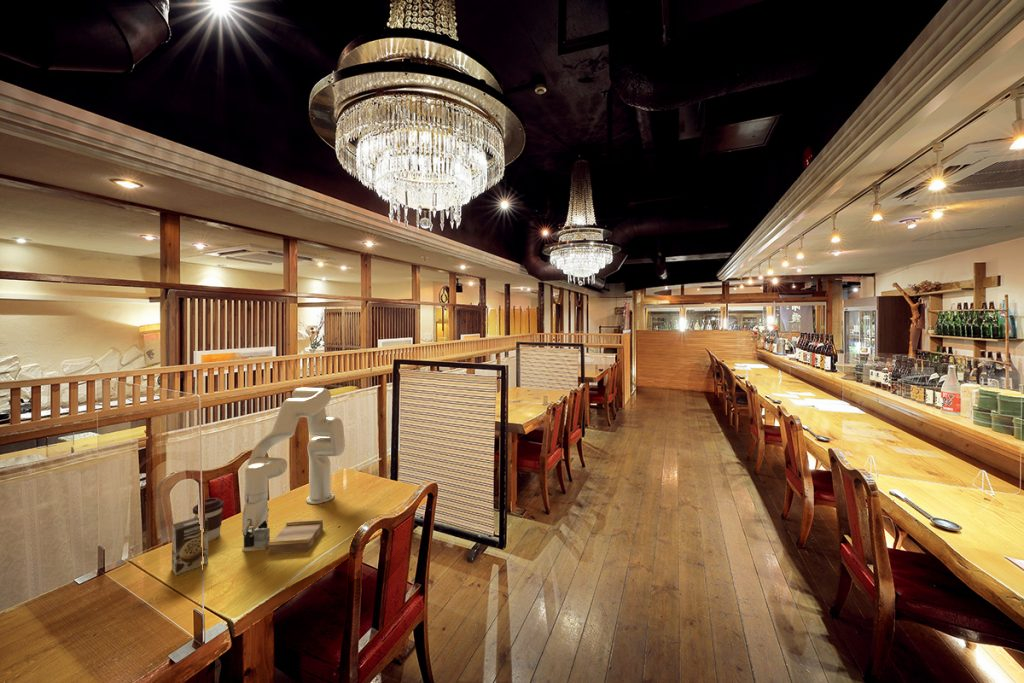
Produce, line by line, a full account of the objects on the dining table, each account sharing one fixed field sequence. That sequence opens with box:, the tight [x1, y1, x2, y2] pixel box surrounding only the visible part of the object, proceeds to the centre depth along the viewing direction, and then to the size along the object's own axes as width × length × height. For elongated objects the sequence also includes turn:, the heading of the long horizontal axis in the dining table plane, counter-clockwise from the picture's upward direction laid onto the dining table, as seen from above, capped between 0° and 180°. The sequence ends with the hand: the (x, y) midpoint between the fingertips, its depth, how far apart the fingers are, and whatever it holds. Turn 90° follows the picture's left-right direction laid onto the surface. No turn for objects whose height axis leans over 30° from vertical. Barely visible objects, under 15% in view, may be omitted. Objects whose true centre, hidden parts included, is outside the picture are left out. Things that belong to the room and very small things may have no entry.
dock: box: [268, 518, 324, 555], centre depth 149 cm, size 16×14×5 cm
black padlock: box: [241, 527, 271, 552], centre depth 145 cm, size 5×8×6 cm, turn 98°
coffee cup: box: [192, 497, 225, 542], centre depth 152 cm, size 10×10×15 cm
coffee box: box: [171, 517, 209, 576], centre depth 133 cm, size 9×6×16 cm
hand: (256, 539), depth 145 cm, fingers open, 9 cm apart
